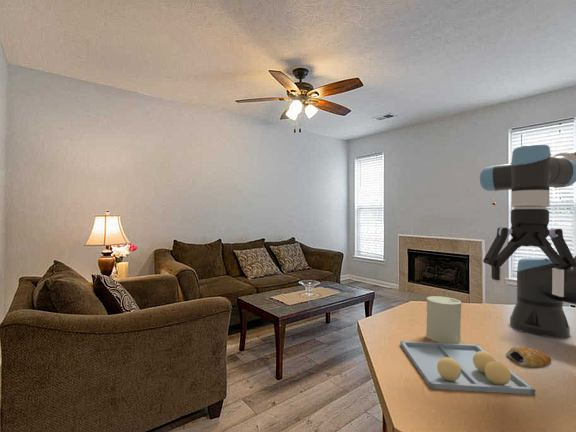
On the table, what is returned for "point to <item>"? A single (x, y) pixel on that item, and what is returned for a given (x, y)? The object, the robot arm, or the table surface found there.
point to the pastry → (529, 356)
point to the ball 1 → (482, 360)
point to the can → (443, 319)
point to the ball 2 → (497, 373)
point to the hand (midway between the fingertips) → (528, 294)
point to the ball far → (449, 369)
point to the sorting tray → (470, 378)
